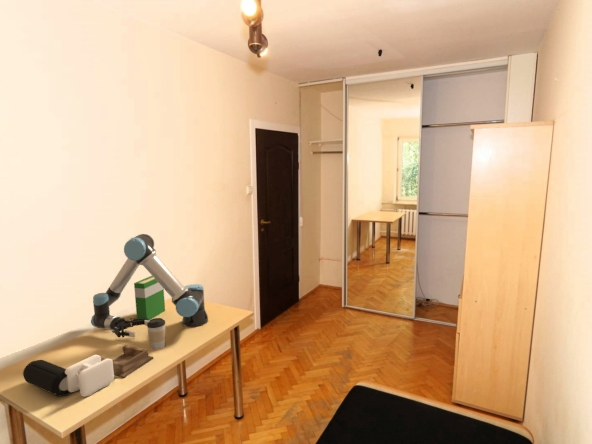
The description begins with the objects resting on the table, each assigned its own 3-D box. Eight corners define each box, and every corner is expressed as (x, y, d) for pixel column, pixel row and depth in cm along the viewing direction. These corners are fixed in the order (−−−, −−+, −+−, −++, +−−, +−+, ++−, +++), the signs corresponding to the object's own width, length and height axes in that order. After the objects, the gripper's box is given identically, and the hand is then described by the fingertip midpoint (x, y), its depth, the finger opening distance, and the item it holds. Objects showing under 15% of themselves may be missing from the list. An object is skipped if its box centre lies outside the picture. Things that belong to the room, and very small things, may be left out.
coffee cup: (148, 344, 195) (146, 318, 193) (166, 341, 199) (164, 315, 196) (149, 352, 187) (146, 324, 185) (167, 348, 190) (165, 321, 188)
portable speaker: (80, 389, 156) (78, 367, 155) (56, 402, 147) (54, 379, 146) (46, 375, 168) (43, 354, 166) (22, 386, 159) (19, 364, 157)
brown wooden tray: (97, 370, 170) (96, 360, 169) (128, 352, 187) (127, 343, 186) (123, 378, 164) (122, 367, 163) (153, 358, 180) (152, 349, 180)
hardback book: (155, 309, 244) (153, 275, 241) (165, 310, 242) (162, 275, 239) (137, 320, 228) (134, 283, 224) (147, 321, 225) (144, 284, 222)
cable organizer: (81, 401, 148) (78, 374, 146) (66, 394, 153) (63, 368, 151) (115, 382, 161) (112, 357, 159) (100, 376, 166) (97, 352, 164)
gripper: (133, 321, 214) (162, 326, 206) (96, 339, 192) (126, 346, 184) (132, 309, 213) (161, 314, 205) (94, 326, 191) (125, 332, 182)
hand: (144, 329), depth 194 cm, fingers open, 13 cm apart
